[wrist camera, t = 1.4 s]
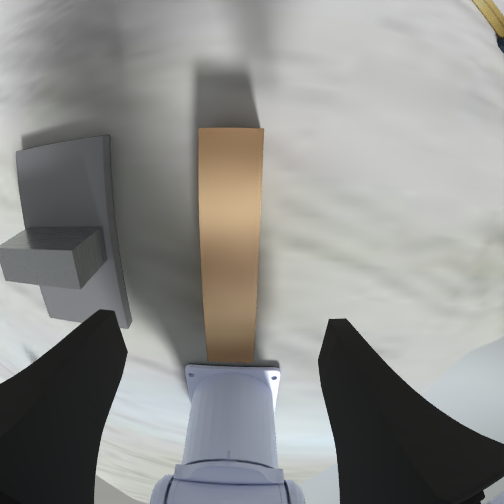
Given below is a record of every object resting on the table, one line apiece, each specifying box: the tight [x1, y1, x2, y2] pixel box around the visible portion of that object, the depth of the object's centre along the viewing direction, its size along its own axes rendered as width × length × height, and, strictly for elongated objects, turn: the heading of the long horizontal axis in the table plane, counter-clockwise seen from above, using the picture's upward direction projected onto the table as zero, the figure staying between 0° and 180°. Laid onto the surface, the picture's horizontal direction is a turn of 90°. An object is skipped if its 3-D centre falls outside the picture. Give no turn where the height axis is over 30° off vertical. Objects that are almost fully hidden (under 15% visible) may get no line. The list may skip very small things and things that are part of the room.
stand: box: [0, 135, 132, 329], centre depth 16 cm, size 14×8×5 cm, turn 178°
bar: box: [198, 128, 264, 363], centre depth 17 cm, size 14×3×4 cm, turn 178°
